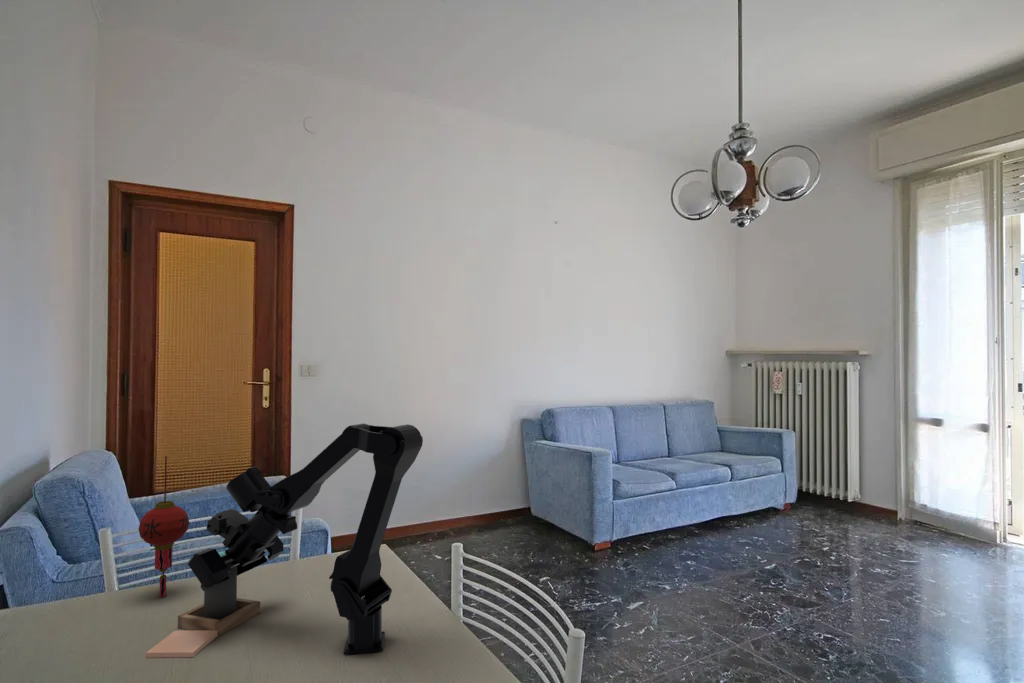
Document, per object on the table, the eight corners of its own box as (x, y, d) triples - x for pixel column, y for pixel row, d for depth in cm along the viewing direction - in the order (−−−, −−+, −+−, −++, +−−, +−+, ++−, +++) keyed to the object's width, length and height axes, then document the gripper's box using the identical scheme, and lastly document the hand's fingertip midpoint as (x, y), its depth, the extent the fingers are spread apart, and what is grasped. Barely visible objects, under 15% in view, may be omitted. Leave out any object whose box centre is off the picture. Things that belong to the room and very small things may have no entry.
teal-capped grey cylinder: (231, 623, 105) (231, 559, 106) (199, 626, 105) (200, 561, 105) (240, 611, 111) (241, 550, 112) (210, 613, 110) (210, 551, 111)
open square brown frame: (260, 612, 111) (260, 601, 111) (219, 635, 101) (219, 623, 102) (220, 606, 114) (221, 595, 114) (177, 628, 105) (177, 616, 105)
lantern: (197, 587, 124) (200, 452, 126) (170, 605, 115) (173, 459, 116) (155, 588, 124) (158, 452, 126) (125, 605, 115) (129, 459, 116)
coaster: (218, 634, 102) (218, 630, 102) (193, 657, 94) (193, 652, 94) (174, 635, 102) (175, 630, 102) (145, 657, 94) (146, 652, 94)
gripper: (272, 488, 117) (230, 537, 120) (196, 509, 99) (149, 566, 102) (303, 528, 114) (259, 578, 117) (231, 558, 96) (181, 615, 99)
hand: (215, 582), depth 109 cm, fingers closed on teal-capped grey cylinder, 6 cm apart
